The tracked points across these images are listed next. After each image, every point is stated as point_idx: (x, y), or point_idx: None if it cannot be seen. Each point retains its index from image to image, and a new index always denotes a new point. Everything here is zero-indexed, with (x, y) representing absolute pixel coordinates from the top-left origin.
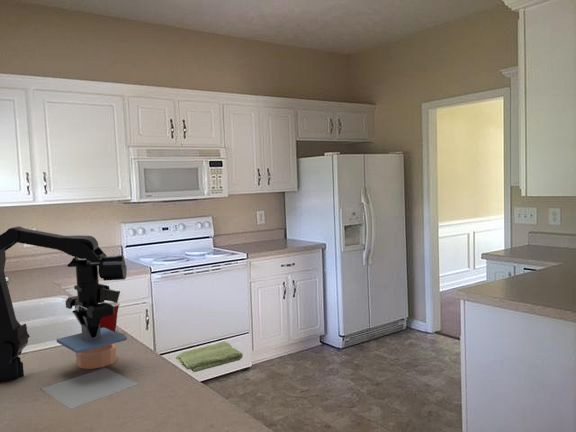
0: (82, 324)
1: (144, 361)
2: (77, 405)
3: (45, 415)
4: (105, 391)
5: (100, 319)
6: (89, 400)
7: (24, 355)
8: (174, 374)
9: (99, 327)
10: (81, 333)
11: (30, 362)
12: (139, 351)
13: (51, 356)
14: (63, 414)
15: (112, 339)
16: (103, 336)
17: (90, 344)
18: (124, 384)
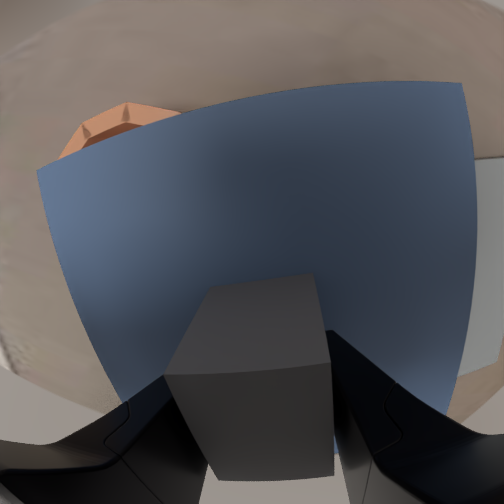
0: (204, 471)
1: (265, 17)
2: (497, 347)
3: (453, 399)
4: (493, 267)
5: (469, 432)
6: (501, 319)
7: (11, 346)
8: (470, 16)
9: (323, 335)
10: (102, 348)
11: (53, 356)
12: (128, 18)
13: (27, 304)
14: (482, 369)
15: (446, 204)
16: (298, 242)
17: (419, 371)
18: (492, 195)
